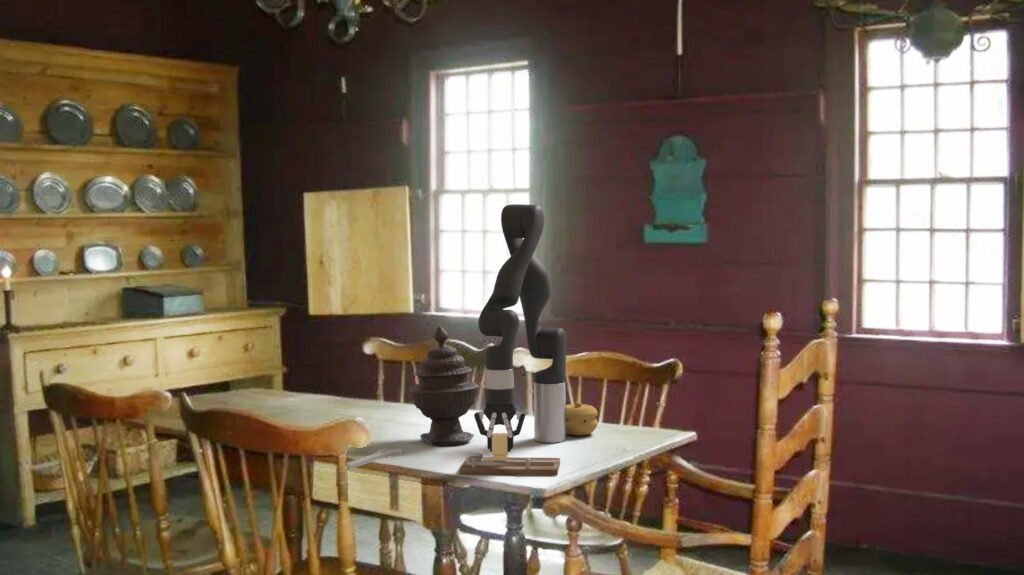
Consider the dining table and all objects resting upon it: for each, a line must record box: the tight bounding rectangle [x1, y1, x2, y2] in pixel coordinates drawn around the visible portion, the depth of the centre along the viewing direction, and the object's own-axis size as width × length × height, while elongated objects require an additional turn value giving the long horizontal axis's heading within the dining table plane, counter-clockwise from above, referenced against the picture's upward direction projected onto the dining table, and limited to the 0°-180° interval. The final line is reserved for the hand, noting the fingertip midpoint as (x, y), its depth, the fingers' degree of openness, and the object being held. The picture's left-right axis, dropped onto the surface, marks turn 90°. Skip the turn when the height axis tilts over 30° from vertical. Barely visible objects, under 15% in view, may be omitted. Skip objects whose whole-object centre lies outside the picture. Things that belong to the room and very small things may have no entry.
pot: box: [566, 401, 599, 437], centre depth 333 cm, size 12×12×10 cm
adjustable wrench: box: [346, 447, 404, 471], centre depth 301 cm, size 25×6×2 cm, turn 147°
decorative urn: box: [408, 324, 479, 446], centre depth 324 cm, size 20×20×35 cm
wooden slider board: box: [459, 450, 561, 476], centre depth 288 cm, size 14×25×4 cm, turn 85°
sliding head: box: [491, 432, 510, 461], centre depth 289 cm, size 6×4×7 cm, turn 175°
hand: (500, 450), depth 289 cm, fingers closed on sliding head, 4 cm apart
